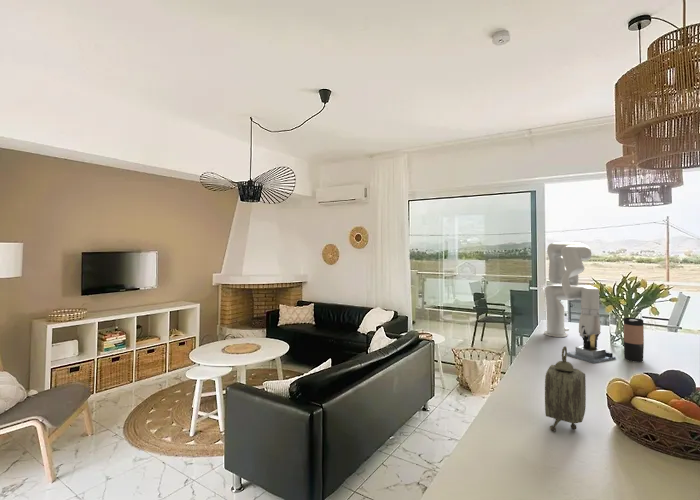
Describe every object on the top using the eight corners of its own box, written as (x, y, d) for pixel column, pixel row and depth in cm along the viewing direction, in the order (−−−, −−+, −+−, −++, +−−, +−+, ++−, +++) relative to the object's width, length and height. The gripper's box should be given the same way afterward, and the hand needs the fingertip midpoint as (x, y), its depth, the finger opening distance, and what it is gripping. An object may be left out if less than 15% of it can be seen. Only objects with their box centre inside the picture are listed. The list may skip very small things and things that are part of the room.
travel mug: (636, 357, 174) (636, 317, 174) (647, 362, 167) (647, 320, 167) (620, 357, 175) (619, 317, 175) (630, 362, 168) (630, 320, 167)
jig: (587, 351, 185) (587, 342, 185) (615, 359, 172) (615, 350, 172) (566, 355, 179) (566, 346, 179) (593, 363, 166) (593, 354, 166)
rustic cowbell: (553, 414, 117) (553, 339, 117) (586, 422, 111) (585, 344, 111) (545, 432, 106) (544, 350, 105) (580, 442, 100) (580, 355, 100)
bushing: (589, 349, 178) (588, 332, 178) (597, 351, 175) (596, 333, 175) (583, 350, 177) (583, 332, 177) (591, 352, 173) (591, 334, 173)
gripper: (593, 309, 182) (593, 344, 182) (571, 311, 176) (571, 347, 176) (608, 311, 175) (608, 348, 175) (586, 314, 169) (586, 352, 169)
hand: (590, 347), depth 176 cm, fingers closed on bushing, 4 cm apart
